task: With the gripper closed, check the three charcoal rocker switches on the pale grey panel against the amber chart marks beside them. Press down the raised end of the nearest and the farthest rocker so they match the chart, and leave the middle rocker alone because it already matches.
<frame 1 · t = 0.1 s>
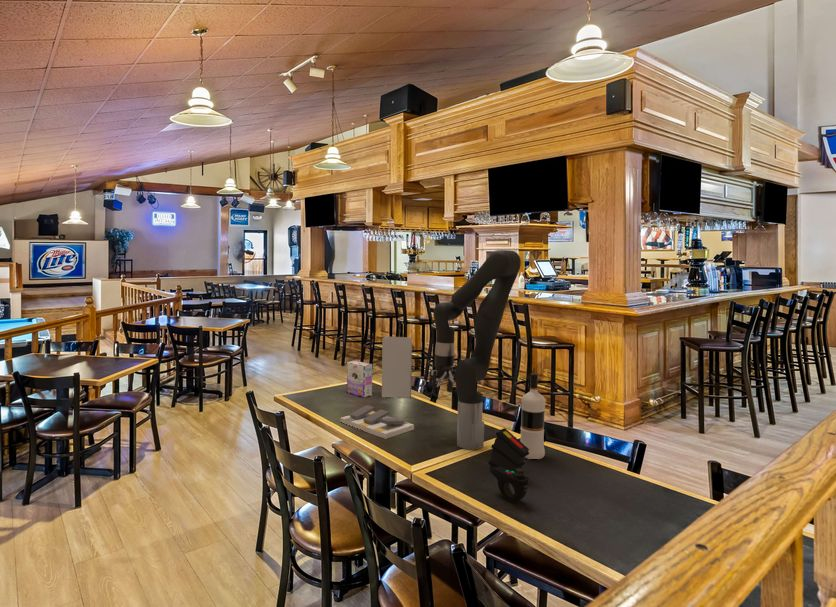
hand: (442, 393, 203), 17 cm above the table, tool pointing down, fingers open, 8 cm apart
rocker far: (362, 411, 222), point 4 cm above the table, hinge at -12.0°
rocker near: (391, 421, 210), point 4 cm above the table, hinge at 12.0°
controller: (509, 499, 152), on the table
vodka: (531, 456, 186), on the table
tall grey panel: (396, 396, 262), on the table
candy box: (359, 394, 265), on the table
switch panel: (376, 425, 216), on the table
rocker mid: (376, 416, 215), point 4 cm above the table, hinge at -12.0°
dark striped block: (508, 476, 168), on the table
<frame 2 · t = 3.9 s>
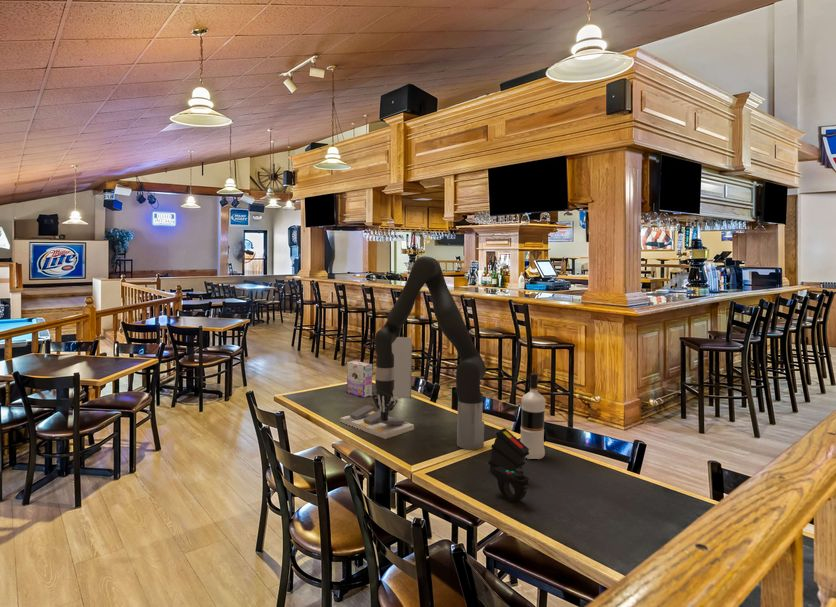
hand: (384, 420, 207), 5 cm above the table, tool pointing down, fingers closed
rocker near: (391, 421, 210), point 4 cm above the table, hinge at 11.3°, touching gripper
everything else where it was.
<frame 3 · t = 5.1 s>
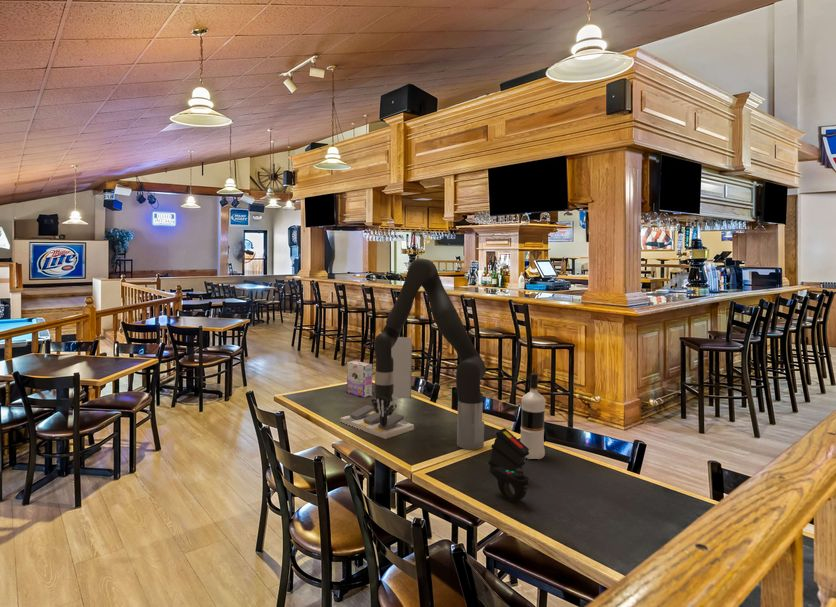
hand: (383, 424, 206), 4 cm above the table, tool pointing down, fingers closed
rocker near: (391, 421, 209), point 4 cm above the table, hinge at -16.3°, touching switch panel
everything else where it was.
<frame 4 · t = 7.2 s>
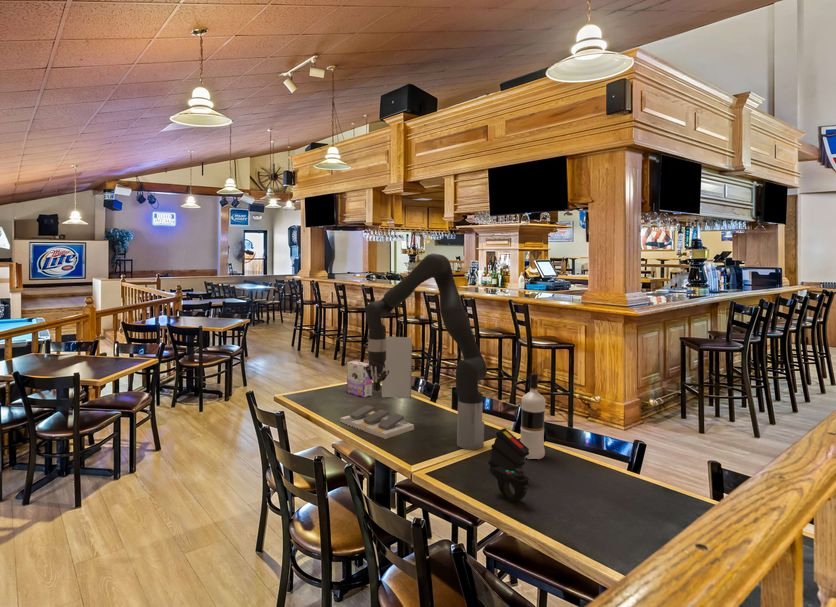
hand: (376, 390, 215), 15 cm above the table, tool pointing down, fingers closed
rocker near: (391, 421, 209), point 4 cm above the table, hinge at -15.7°
everything else where it was.
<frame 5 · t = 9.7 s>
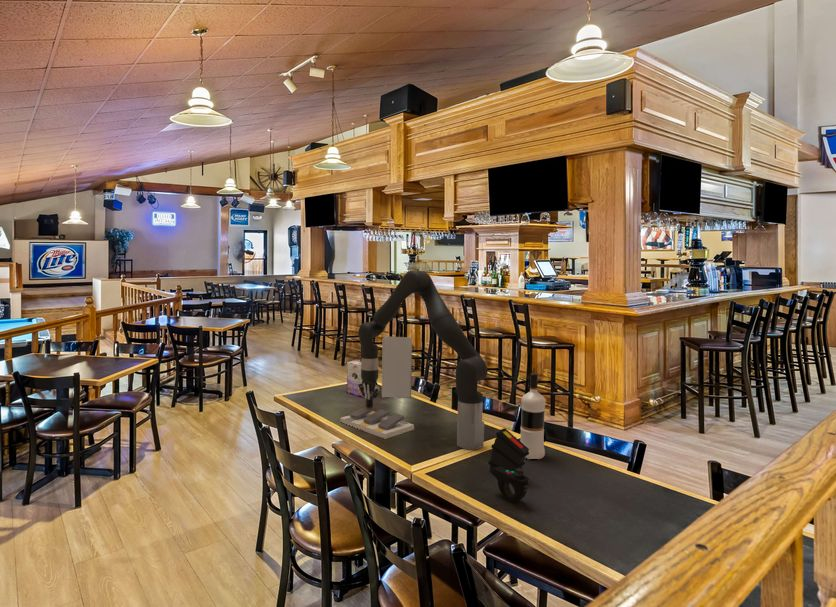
hand: (369, 407, 225), 5 cm above the table, tool pointing down, fingers closed
rocker far: (362, 411, 222), point 4 cm above the table, hinge at -11.2°, touching gripper
everything else where it was.
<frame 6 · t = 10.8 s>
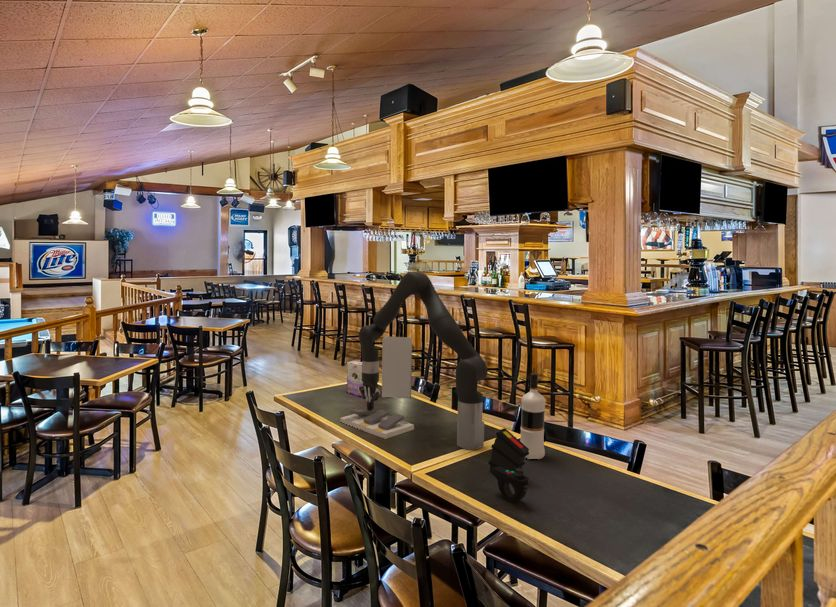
hand: (370, 409, 225), 4 cm above the table, tool pointing down, fingers closed
rocker far: (362, 411, 222), point 4 cm above the table, hinge at 10.1°, touching gripper
everything else where it was.
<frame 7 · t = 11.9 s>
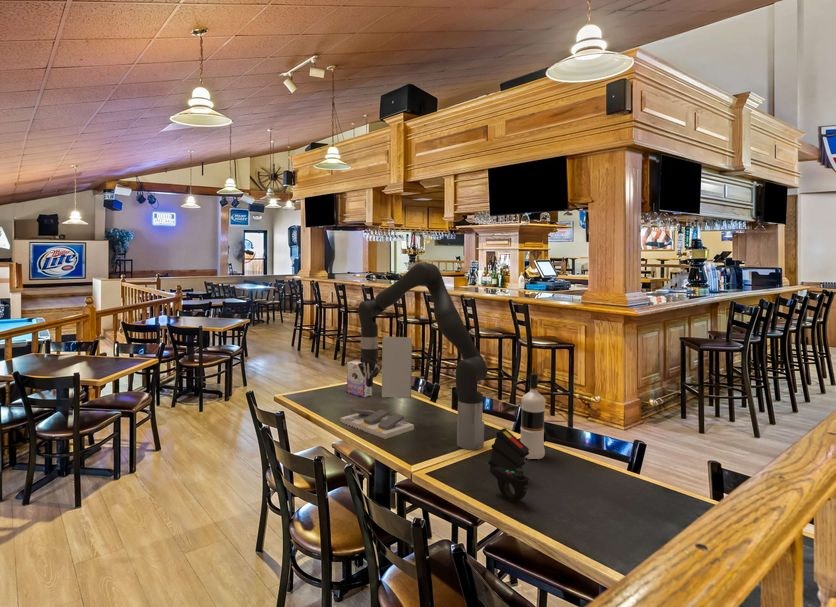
hand: (369, 386, 223), 14 cm above the table, tool pointing down, fingers closed
rocker far: (362, 411, 222), point 4 cm above the table, hinge at 15.3°
everything else where it was.
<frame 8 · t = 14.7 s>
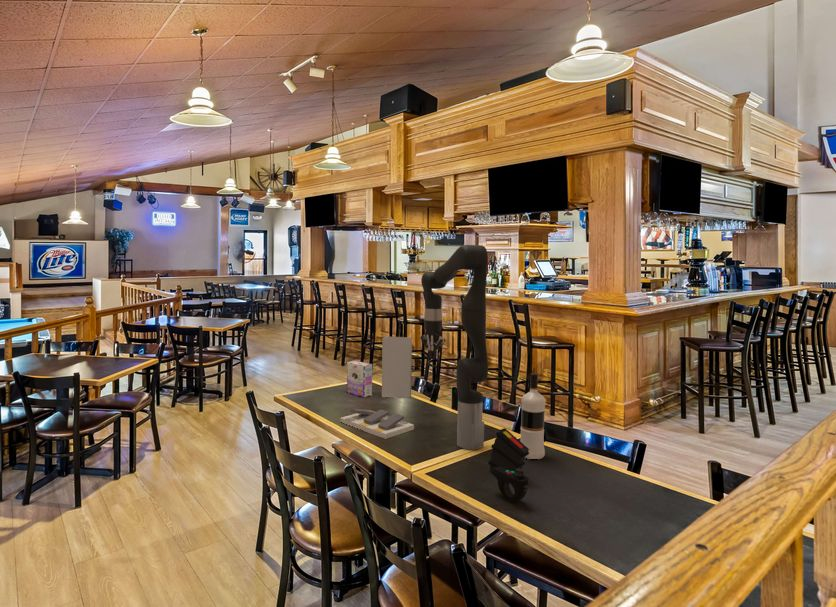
hand: (432, 359, 222), 27 cm above the table, tool pointing down, fingers closed
rocker far: (362, 411, 222), point 4 cm above the table, hinge at 15.8°
everything else where it was.
at the end: rocker near at -16° (first picture: +12°); rocker mid at -12° (first picture: -12°); rocker far at +16° (first picture: -12°) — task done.
